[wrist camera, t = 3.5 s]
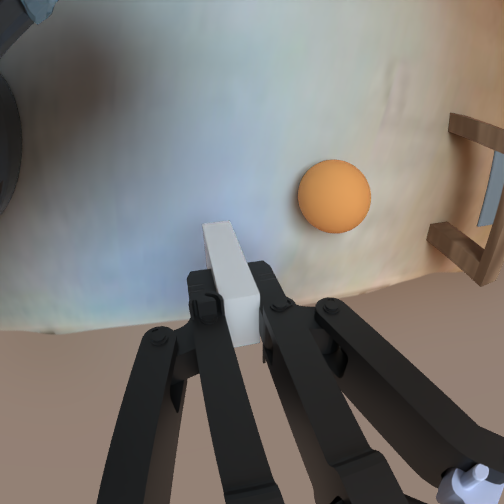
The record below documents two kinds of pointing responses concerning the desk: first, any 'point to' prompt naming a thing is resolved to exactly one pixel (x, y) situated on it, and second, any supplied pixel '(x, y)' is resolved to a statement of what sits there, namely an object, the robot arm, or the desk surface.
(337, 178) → the ball
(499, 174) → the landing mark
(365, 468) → the robot arm
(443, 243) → the bridge
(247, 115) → the desk surface
